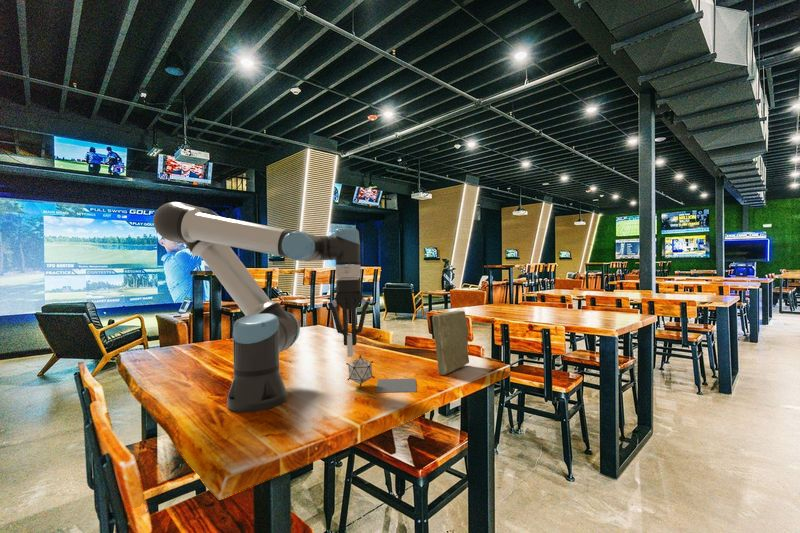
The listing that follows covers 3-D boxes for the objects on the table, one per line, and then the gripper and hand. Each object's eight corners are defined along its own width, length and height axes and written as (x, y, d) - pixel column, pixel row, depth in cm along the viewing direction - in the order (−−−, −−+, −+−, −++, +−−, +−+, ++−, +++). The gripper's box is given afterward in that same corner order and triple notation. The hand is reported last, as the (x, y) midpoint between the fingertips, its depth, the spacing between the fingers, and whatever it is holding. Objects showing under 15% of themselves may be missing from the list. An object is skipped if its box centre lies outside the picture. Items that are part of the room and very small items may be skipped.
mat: (375, 393, 106) (375, 392, 106) (378, 380, 118) (378, 379, 118) (416, 392, 106) (416, 391, 106) (415, 379, 118) (415, 378, 118)
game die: (377, 382, 116) (376, 351, 116) (372, 392, 108) (372, 358, 107) (349, 382, 117) (349, 351, 117) (343, 391, 108) (342, 357, 108)
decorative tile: (447, 376, 121) (446, 316, 121) (432, 373, 124) (431, 315, 124) (472, 364, 136) (472, 310, 136) (458, 361, 139) (457, 309, 139)
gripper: (324, 280, 108) (326, 359, 108) (368, 278, 108) (370, 358, 108) (329, 279, 116) (331, 353, 116) (370, 277, 116) (372, 352, 116)
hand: (350, 355), depth 112 cm, fingers closed
